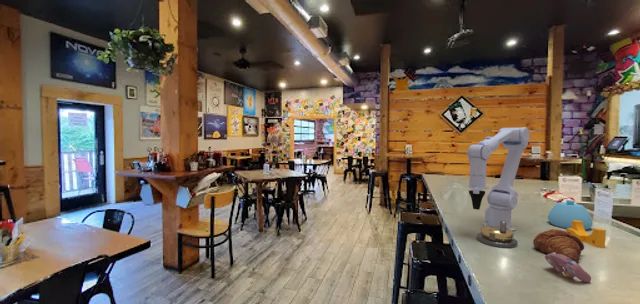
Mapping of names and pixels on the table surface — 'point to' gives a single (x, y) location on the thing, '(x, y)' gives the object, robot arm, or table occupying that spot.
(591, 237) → the pipe clamp
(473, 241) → the table surface
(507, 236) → the round lid with handle
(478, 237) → the base plate
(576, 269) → the video game controller
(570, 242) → the pastry
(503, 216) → the robot arm
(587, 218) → the sugar bowl
